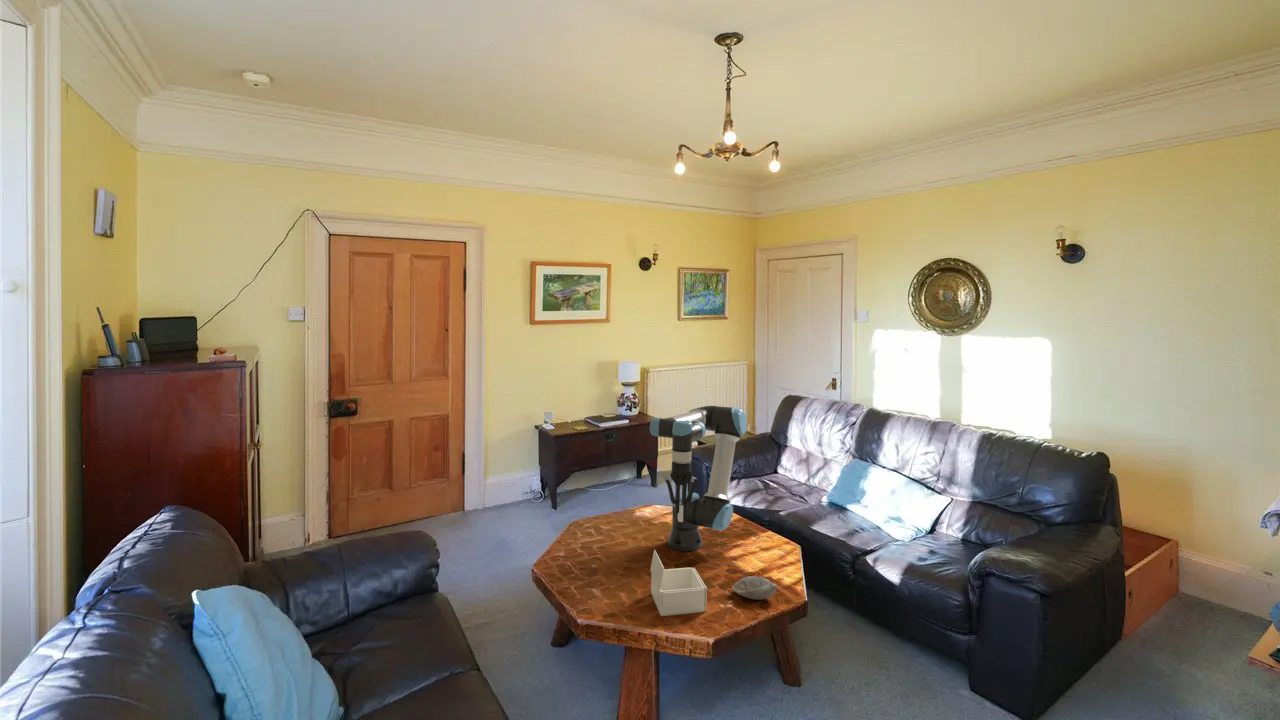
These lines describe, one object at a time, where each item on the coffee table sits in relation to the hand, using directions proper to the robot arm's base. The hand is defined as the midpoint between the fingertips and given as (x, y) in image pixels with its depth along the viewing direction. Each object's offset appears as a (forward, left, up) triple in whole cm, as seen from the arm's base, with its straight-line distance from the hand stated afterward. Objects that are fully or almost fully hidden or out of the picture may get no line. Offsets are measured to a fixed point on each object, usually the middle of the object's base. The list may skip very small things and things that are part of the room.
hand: (680, 520), depth 231 cm
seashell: (-24, +16, -25) cm, 39 cm away
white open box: (+5, +15, -25) cm, 30 cm away
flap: (+12, +15, -12) cm, 22 cm away
